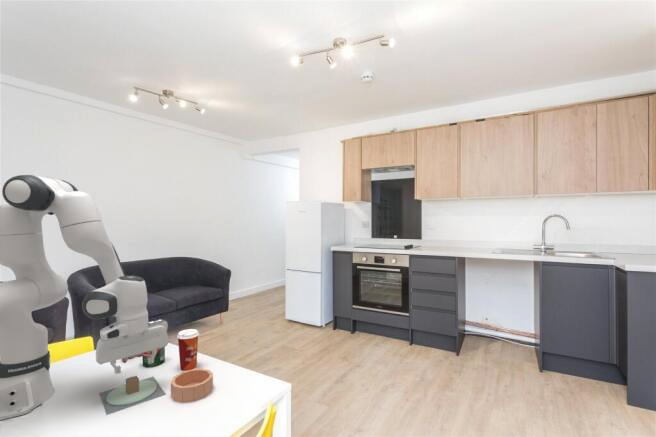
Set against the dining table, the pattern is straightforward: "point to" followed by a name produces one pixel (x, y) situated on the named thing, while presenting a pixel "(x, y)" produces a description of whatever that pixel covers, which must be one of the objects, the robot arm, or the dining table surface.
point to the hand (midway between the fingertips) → (134, 367)
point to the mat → (112, 409)
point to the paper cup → (188, 348)
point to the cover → (131, 392)
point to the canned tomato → (158, 358)
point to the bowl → (191, 385)
